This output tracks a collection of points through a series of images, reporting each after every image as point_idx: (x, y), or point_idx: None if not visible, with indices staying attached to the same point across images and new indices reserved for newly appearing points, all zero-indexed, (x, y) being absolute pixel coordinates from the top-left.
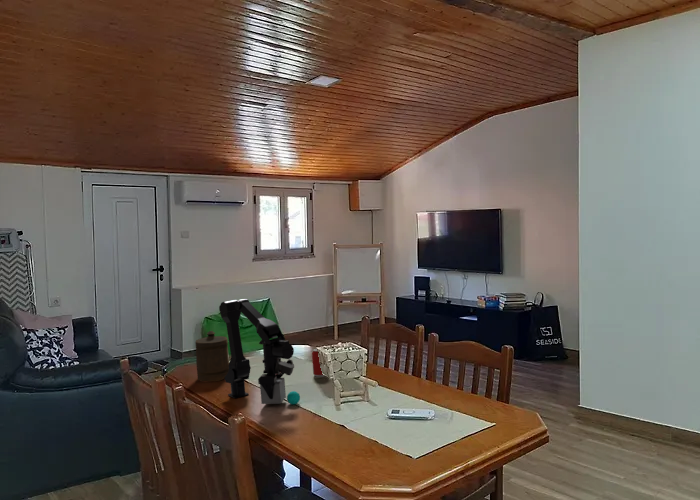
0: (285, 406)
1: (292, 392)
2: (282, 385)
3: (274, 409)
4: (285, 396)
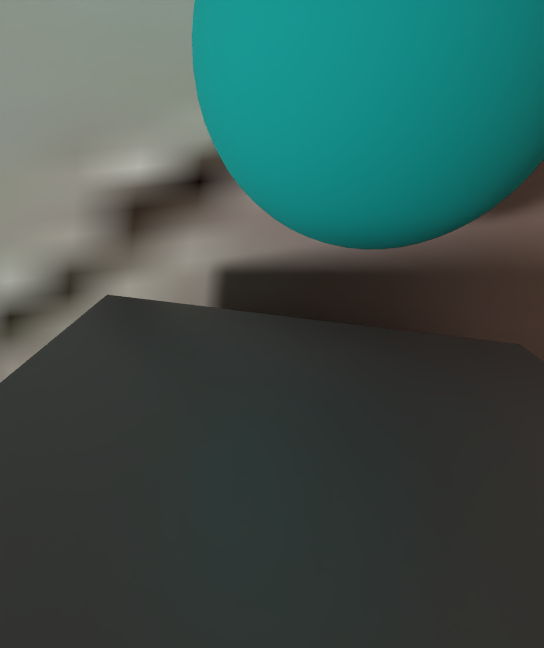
0: (433, 252)
1: (535, 18)
2: (404, 632)
3: None
4: (131, 305)
